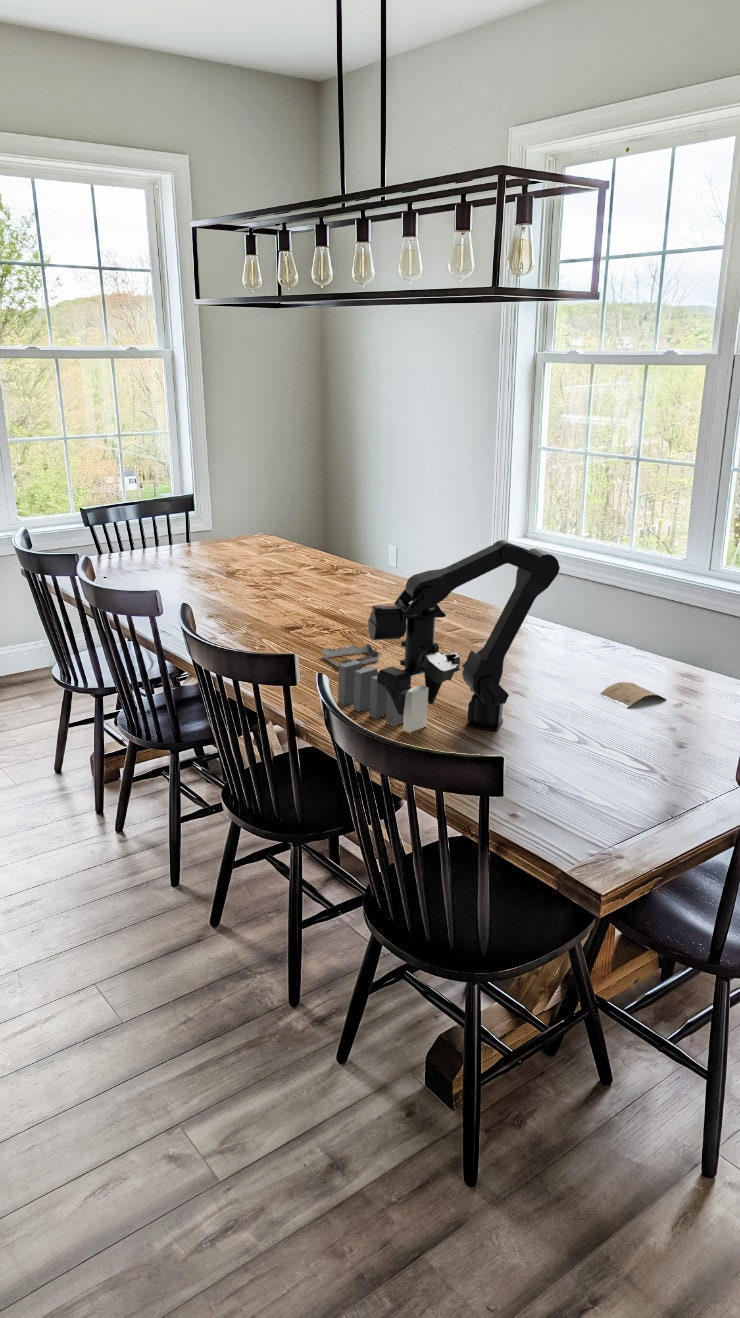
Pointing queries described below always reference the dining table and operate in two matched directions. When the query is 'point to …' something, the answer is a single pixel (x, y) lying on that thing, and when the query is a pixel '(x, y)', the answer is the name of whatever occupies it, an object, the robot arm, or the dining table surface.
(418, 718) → the loose domino
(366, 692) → the domino
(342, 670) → the domino
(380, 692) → the domino
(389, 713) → the domino
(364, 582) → the dining table surface
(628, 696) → the tan curved piece
